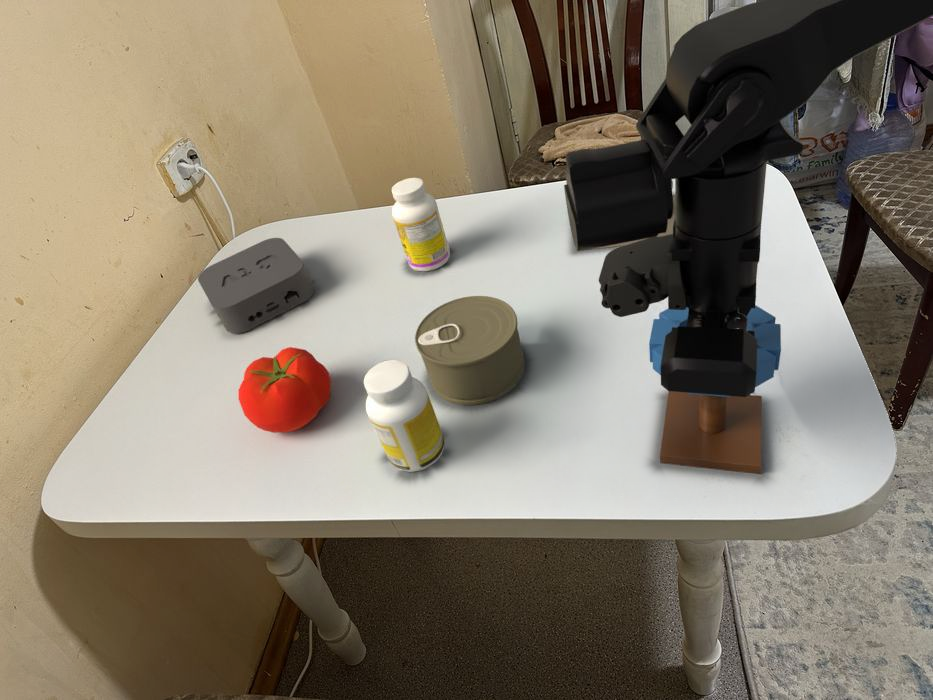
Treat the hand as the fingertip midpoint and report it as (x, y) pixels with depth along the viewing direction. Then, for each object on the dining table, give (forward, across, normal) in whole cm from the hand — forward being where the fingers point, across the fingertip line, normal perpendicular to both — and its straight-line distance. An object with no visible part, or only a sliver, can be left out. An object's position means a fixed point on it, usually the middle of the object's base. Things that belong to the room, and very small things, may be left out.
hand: (711, 375), depth 57 cm
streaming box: (+11, -22, -67) cm, 72 cm away
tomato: (+11, 0, -48) cm, 49 cm away
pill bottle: (+11, +4, -30) cm, 32 cm away
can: (+11, -9, -27) cm, 31 cm away
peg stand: (+11, -3, 0) cm, 11 cm away
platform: (+11, -42, -12) cm, 46 cm away
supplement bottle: (+11, -32, -42) cm, 54 cm away
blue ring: (+1, -4, 0) cm, 4 cm away
